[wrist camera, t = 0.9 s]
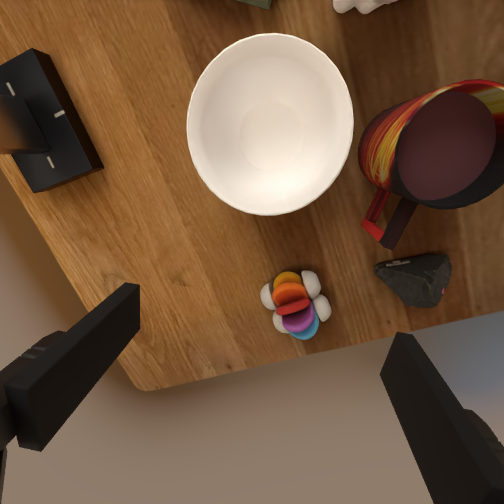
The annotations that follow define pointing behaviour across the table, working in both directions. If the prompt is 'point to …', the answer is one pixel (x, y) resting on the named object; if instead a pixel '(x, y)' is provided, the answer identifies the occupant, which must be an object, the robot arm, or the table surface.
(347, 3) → the rabbit
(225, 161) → the bowl
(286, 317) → the rainbow petal toy
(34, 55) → the control panel
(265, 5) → the button box
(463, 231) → the table surface
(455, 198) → the mug
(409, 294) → the rock
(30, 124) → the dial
